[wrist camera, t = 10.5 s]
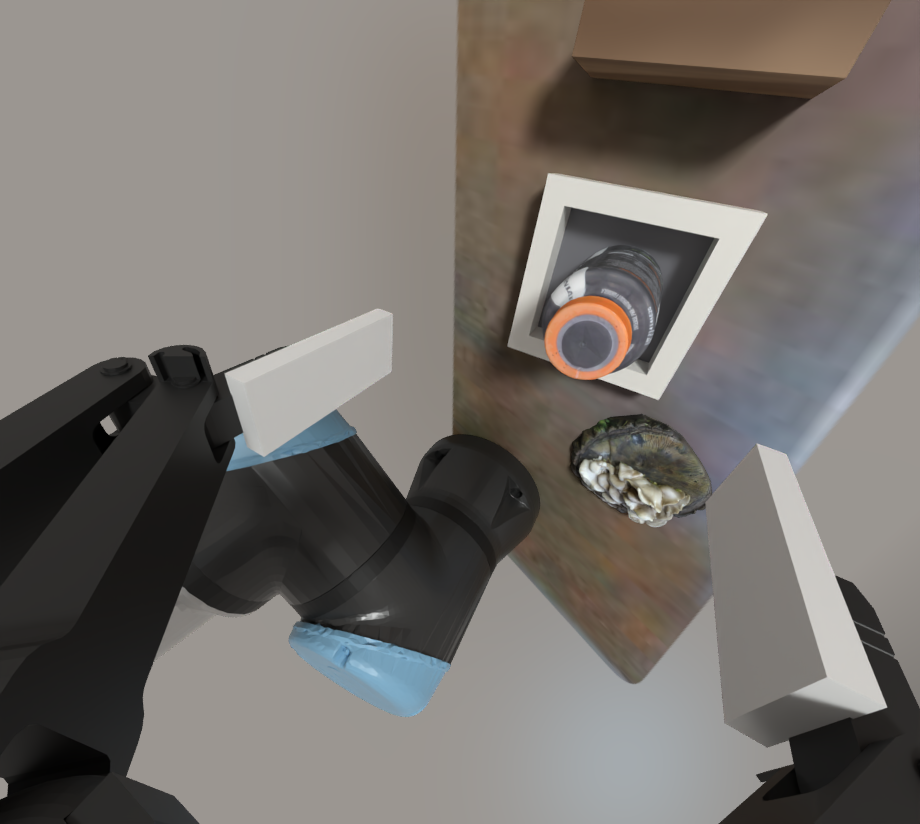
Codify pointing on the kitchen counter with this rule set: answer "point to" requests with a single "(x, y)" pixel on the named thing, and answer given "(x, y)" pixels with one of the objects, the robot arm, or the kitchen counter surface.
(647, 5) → the door edge
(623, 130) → the kitchen counter surface
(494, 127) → the kitchen counter surface
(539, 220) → the plate
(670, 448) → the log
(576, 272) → the pill bottle
